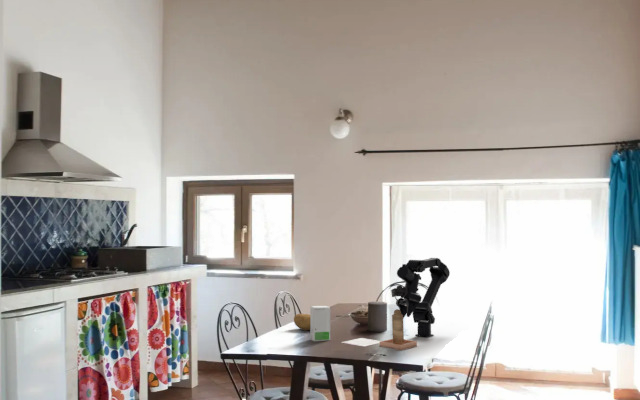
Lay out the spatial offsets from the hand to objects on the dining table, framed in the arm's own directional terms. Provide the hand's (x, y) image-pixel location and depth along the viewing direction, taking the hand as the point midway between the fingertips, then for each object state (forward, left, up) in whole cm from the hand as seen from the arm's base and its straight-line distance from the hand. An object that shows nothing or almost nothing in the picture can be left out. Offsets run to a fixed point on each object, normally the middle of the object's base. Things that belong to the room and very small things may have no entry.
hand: (404, 318), depth 293 cm
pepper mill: (+10, +4, -10) cm, 14 cm away
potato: (+7, -56, -11) cm, 58 cm away
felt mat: (+14, -13, -11) cm, 22 cm away
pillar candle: (-16, -29, -11) cm, 35 cm away
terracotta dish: (+10, +4, -11) cm, 15 cm away
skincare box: (+22, -32, -11) cm, 40 cm away
